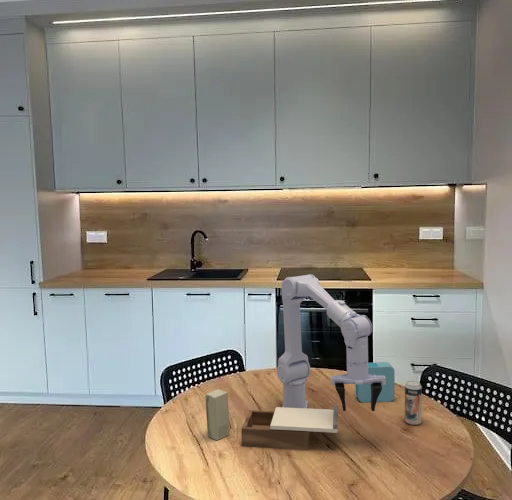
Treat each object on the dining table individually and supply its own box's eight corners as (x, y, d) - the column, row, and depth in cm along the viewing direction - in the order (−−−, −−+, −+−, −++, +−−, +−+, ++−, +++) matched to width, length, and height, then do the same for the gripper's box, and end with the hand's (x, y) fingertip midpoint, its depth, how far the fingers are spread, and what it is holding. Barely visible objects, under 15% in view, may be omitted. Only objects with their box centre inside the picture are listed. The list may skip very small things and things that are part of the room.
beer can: (401, 422, 144) (401, 383, 142) (409, 417, 147) (409, 379, 146) (417, 427, 140) (417, 387, 139) (424, 421, 144) (424, 382, 143)
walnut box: (250, 426, 144) (249, 410, 144) (310, 429, 141) (310, 412, 141) (242, 446, 132) (241, 428, 132) (307, 450, 129) (307, 432, 129)
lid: (276, 410, 142) (275, 403, 142) (337, 413, 139) (337, 405, 139) (270, 429, 130) (270, 421, 130) (337, 432, 127) (337, 424, 127)
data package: (390, 396, 163) (390, 361, 162) (394, 401, 159) (394, 366, 158) (355, 397, 163) (355, 362, 162) (358, 402, 159) (358, 367, 158)
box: (220, 430, 142) (218, 388, 141) (230, 435, 139) (228, 392, 138) (206, 436, 138) (204, 393, 137) (216, 441, 135) (214, 397, 134)
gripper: (331, 365, 127) (332, 415, 128) (387, 365, 126) (388, 415, 127) (329, 357, 134) (331, 404, 135) (382, 357, 133) (383, 405, 134)
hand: (358, 409), depth 131 cm, fingers open, 7 cm apart
